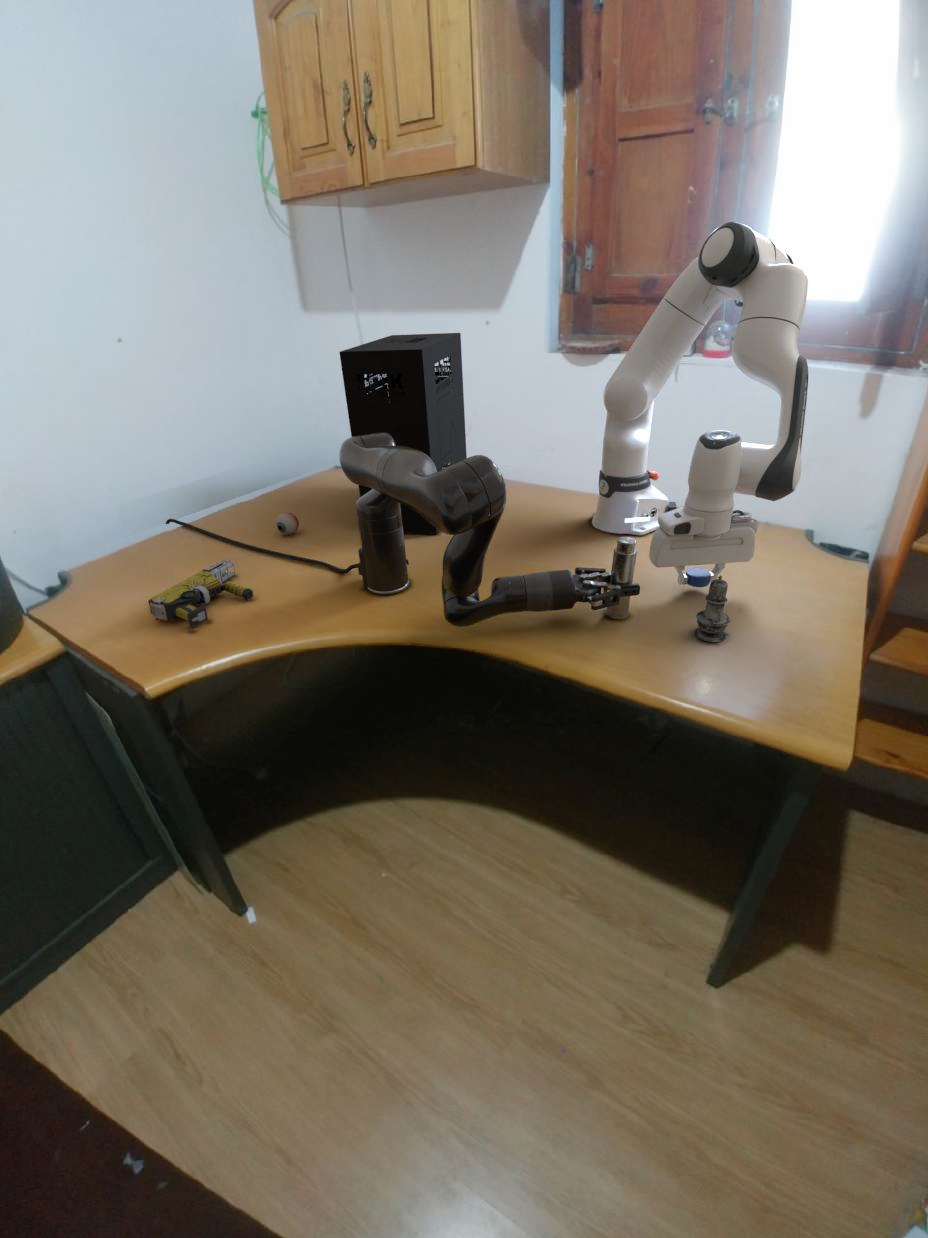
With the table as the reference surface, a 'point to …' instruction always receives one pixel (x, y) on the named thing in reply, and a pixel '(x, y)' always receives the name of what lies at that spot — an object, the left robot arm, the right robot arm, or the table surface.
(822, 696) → the table surface
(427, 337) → the cardboard box
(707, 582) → the lid
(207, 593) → the toy gun
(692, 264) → the right robot arm
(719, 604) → the grey stone tiered figure
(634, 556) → the jar
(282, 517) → the eyeball
